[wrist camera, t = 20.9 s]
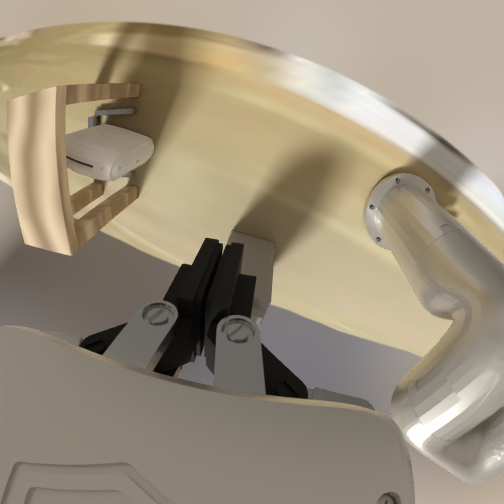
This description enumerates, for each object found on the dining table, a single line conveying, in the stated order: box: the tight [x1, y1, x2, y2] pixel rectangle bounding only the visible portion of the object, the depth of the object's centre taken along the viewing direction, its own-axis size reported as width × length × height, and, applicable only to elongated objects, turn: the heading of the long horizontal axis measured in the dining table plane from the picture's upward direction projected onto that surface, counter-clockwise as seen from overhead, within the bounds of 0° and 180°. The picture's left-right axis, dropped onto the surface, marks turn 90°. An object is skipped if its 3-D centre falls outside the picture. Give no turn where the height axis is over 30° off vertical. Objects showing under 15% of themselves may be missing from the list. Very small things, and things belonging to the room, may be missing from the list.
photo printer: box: [65, 124, 154, 181], centre depth 30 cm, size 10×4×12 cm, turn 67°
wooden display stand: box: [7, 83, 141, 256], centre depth 28 cm, size 9×18×18 cm, turn 173°
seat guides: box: [88, 108, 136, 178], centre depth 35 cm, size 8×11×2 cm
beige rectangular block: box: [227, 230, 275, 327], centre depth 36 cm, size 7×7×18 cm
